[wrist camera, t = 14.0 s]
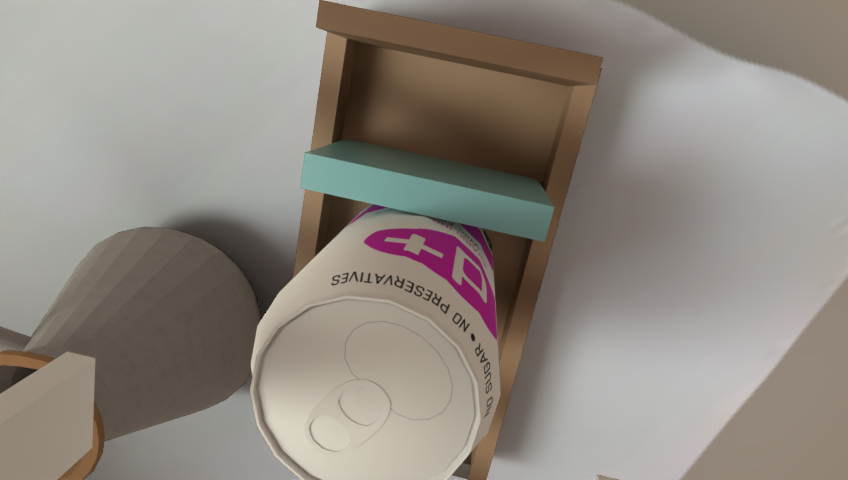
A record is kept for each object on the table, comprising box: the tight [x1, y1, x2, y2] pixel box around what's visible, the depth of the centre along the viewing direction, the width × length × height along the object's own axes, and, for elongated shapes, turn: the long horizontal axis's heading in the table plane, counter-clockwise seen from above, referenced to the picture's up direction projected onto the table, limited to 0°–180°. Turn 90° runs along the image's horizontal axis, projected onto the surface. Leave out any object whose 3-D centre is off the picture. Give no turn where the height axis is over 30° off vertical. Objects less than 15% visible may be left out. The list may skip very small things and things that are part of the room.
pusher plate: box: [300, 138, 554, 242], centre depth 26 cm, size 2×10×7 cm, turn 78°
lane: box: [293, 0, 603, 480], centre depth 28 cm, size 24×13×8 cm, turn 169°
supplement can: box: [250, 204, 501, 480], centre depth 23 cm, size 8×8×15 cm
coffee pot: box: [0, 227, 260, 480], centre depth 26 cm, size 21×12×15 cm, turn 51°
